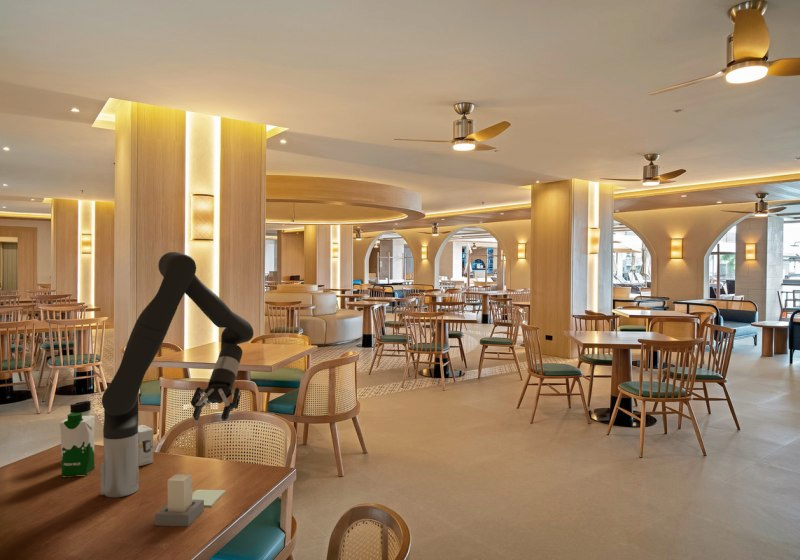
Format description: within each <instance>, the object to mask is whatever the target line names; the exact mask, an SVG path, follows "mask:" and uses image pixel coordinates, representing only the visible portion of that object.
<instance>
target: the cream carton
mask: <svg viewBox="0 0 800 560" xmlns="http://www.w3.org/2000/svg"><path fill="white" fill-rule="evenodd" d="M192 493H193V475H192V474H191V473H175V474H174V475H173V476H171V477H170V478H169V479H167V503H168V512H186V511H187V510H188V509H189V508H190V507H192Z"/></svg>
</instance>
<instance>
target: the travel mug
mask: <svg viewBox="0 0 800 560" xmlns="http://www.w3.org/2000/svg"><path fill="white" fill-rule="evenodd" d="M91 406H92V405H91V400H85V401H79V402H75V403H71V404H70V406H69V407H70V413H69V414H72V413H82V416H92V408H91Z"/></svg>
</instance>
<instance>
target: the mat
mask: <svg viewBox="0 0 800 560" xmlns="http://www.w3.org/2000/svg"><path fill="white" fill-rule="evenodd" d="M226 492H227V491H226V489H225V490H223V489H222V490H221V489H196V490H195V491H193V492H192V500H204V507H206V508H207V507H210V508H211V507H213V505H215V503H216V502H218V501H219V500H220V498H221V497H222V496H223V495H224V494H225V493H226Z"/></svg>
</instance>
